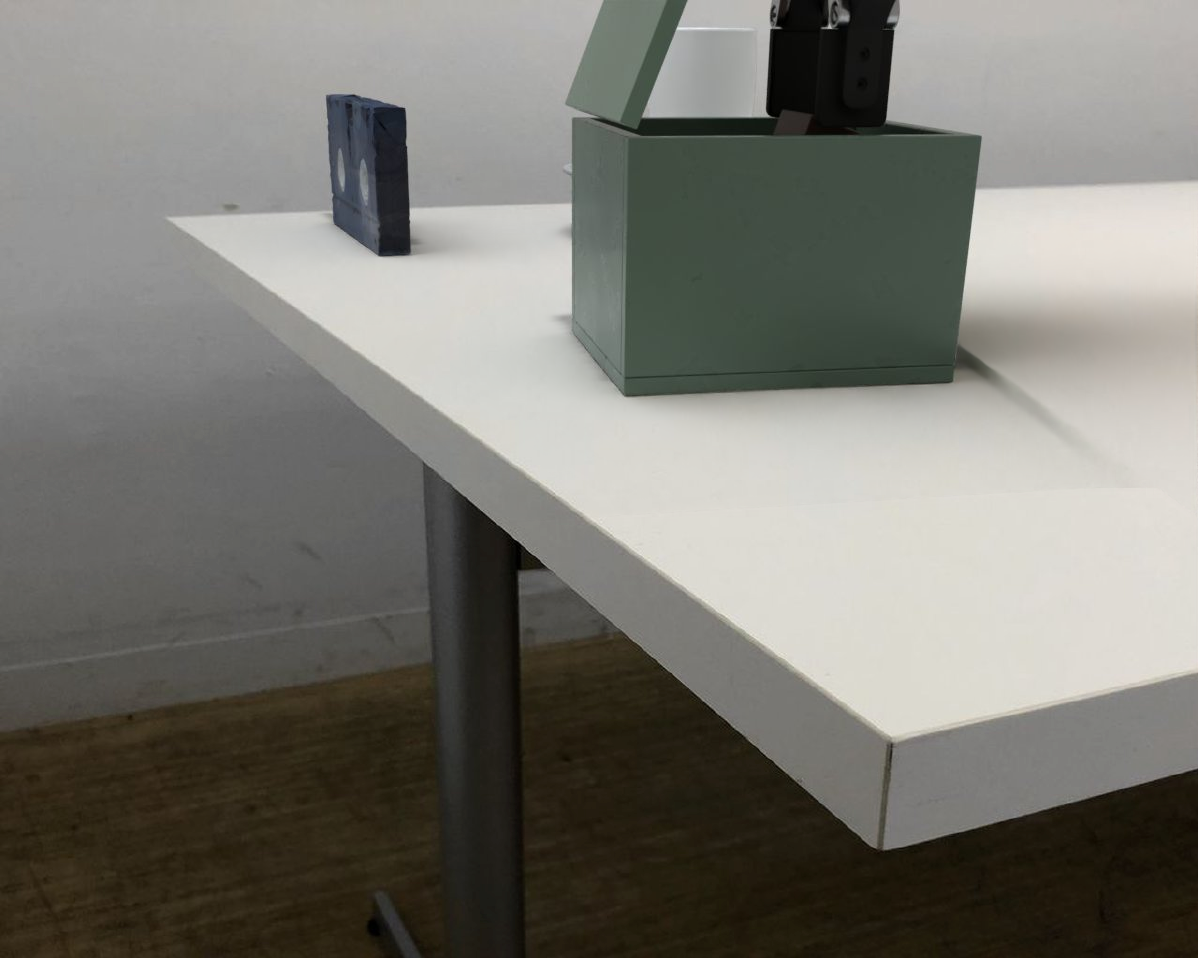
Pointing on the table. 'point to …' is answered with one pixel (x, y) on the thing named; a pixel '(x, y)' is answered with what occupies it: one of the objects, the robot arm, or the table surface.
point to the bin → (769, 253)
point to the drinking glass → (707, 74)
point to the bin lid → (624, 58)
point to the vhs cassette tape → (369, 171)
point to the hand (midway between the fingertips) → (822, 117)
